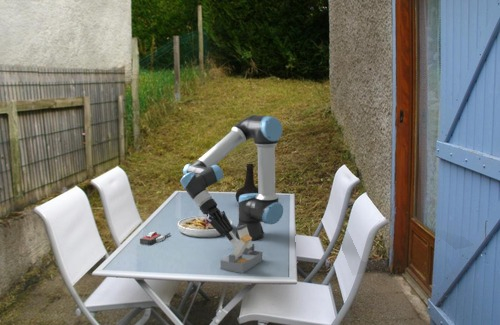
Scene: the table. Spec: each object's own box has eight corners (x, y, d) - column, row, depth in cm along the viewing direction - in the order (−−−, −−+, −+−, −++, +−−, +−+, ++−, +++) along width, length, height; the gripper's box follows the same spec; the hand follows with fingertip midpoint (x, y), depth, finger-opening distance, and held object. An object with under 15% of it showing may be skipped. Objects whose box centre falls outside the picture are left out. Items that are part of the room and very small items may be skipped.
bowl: (224, 240, 275) (224, 226, 273) (169, 237, 281) (169, 222, 279) (237, 225, 304) (237, 212, 303) (187, 222, 310) (187, 209, 308)
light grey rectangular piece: (243, 253, 241) (235, 228, 242) (249, 249, 246) (241, 225, 246) (248, 252, 240) (241, 226, 240) (254, 248, 245) (246, 224, 245)
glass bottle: (232, 207, 347) (232, 165, 343) (240, 201, 364) (240, 161, 359) (258, 209, 342) (258, 166, 337) (265, 203, 359) (266, 162, 354)
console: (220, 268, 233) (220, 253, 232) (241, 256, 250) (241, 242, 249) (242, 273, 228) (242, 257, 227) (262, 260, 245) (262, 245, 244)
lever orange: (229, 257, 231) (241, 237, 227) (235, 254, 236) (247, 234, 231) (233, 261, 230) (246, 241, 226) (239, 258, 235) (252, 237, 231)
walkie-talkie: (153, 247, 264) (171, 236, 283) (153, 238, 263) (171, 228, 282) (137, 245, 267) (157, 234, 285) (137, 236, 266) (157, 226, 285)
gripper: (208, 205, 243) (239, 246, 238) (192, 210, 232) (224, 254, 227) (218, 195, 240) (250, 236, 235) (202, 200, 229) (235, 244, 223)
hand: (237, 245), depth 231 cm, fingers closed
